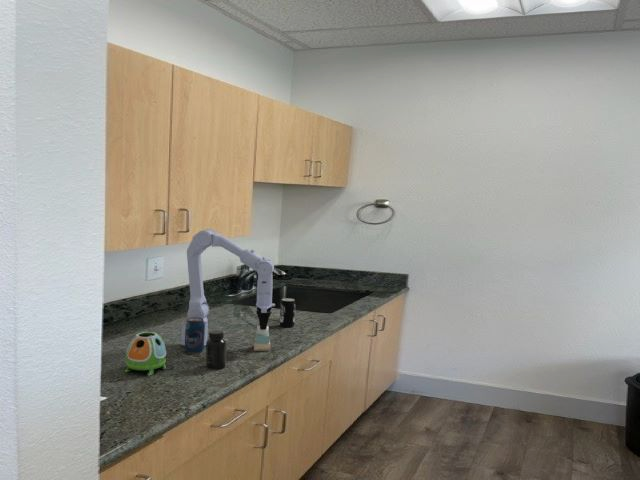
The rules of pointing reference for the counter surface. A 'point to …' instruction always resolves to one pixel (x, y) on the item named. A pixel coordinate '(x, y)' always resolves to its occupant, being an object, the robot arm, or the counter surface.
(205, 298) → the robot arm
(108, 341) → the counter surface
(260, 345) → the beech block
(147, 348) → the turtle holder
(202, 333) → the soda can
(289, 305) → the beverage can
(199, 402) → the counter surface
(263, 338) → the teal block
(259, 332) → the stoneware puck
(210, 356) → the supplement bottle
